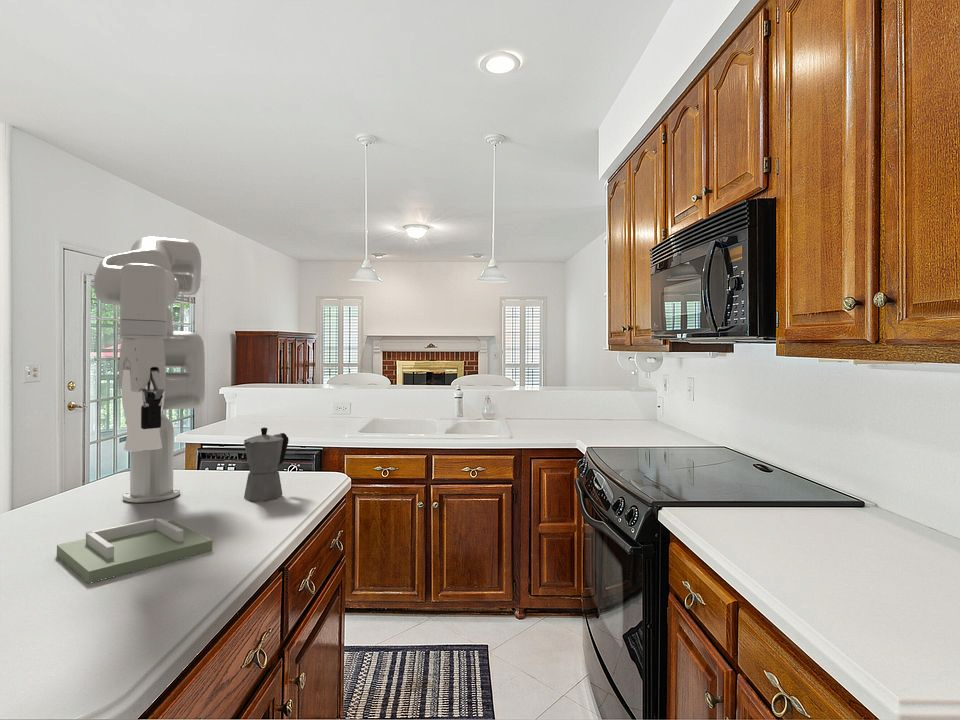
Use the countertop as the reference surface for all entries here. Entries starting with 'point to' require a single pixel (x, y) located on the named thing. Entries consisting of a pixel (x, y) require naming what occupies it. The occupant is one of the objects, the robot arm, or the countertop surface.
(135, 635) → the countertop surface
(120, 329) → the robot arm
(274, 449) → the coffeepot
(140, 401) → the beer glass
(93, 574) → the plate
